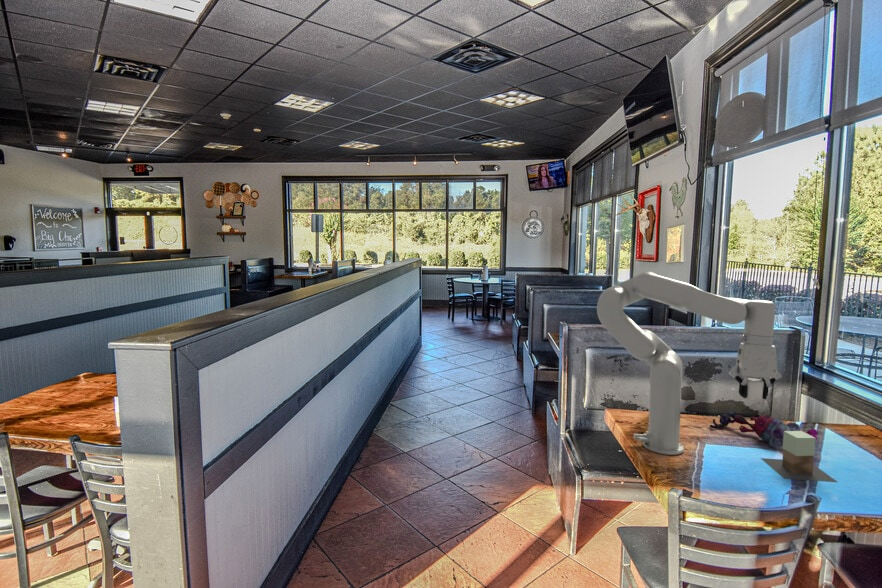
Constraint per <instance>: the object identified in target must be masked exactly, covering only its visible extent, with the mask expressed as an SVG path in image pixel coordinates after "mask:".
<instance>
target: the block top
mask: <svg viewBox="0 0 882 588" xmlns="http://www.w3.org/2000/svg"><path fill="white" fill-rule="evenodd" d="M816 441H817V440H816V438H815V437H813V436H811V435H809V434H807V433H805V431H802V430H801V431H784V436H783V449H785V450H787V451H788V452H790V453H792V454H794V455H795V456H814V457H815V452H816ZM783 449H782V450H783Z"/></svg>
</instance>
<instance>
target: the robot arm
mask: <svg viewBox="0 0 882 588" xmlns="http://www.w3.org/2000/svg"><path fill="white" fill-rule="evenodd" d="M644 299H647V300H651V301H655V302H658V303H662V304H664V305H668V306H671V307H675V308H678V309H680V310H682V311H686V312H689V313H693V314H695V315H698V316H702V317H704V318H708V319H711V320H714V321H717V322H721V323H724V324H728V325H737V324H740V323H742V322H744V328H743V333H742V335H739V336H738V340H740V341H742V342H740V344H739V347H738V350H737V355H736V361H735V365H734V366H733V367H731V369H730V370H729V371H728V374H729V375H730V376H732V377H733V379H734V380H736V382H737V383H738V385H739V386H738V394H739V396H740V397H742V398H743V399H744V398H747V388H748V386H747V385H746V382H747V380H748V378H755V379H759V378H760V380H762V381H764V387H763V398H762V400H767V399H768V395H769V388H770V387H771V386H772V384H774V383H775V382H776V381H778V380H779V379H780V378H782V377H783V376H782V374H781V373H780V372H779V370H778V357H777V355H778V354H777V348H776V346H775V345H774V344H773V342H774V331H775V330H774V328H775V318H776V317H775V316H776V304H775V302H773V301H772V300H771V301H770V300H767V299H766V300H765V299H744V298H738V297H725V296H721V295H718V294H716V293H715V294H714V293H711V292H709V291H705V290H702V289H700V288H698V287H697V286H696V285H695V286H694V285H692V284H690V283H688V282H684V281H680V280H676V279H673V278H669V277H667V276H666V277H665V276H663V275H658V274H657V273H654V272H652V271H643V272H641V273H639V274H637V275H635V276H633V277H632V278H629V279H626V280H624V281H622V282H619V283H617V284H615V285H613V286H610V287H608V288H606V289H604V290H603V291H602V292H601V294H600V295H599V297H598V301H597V304H596V305H597V306H596V315H597V317H598V320H599V321H600V323H601V325H602V326H603V327H604V328H605V330H606V331H608V333H609V334H610V335H611V336H612V337H613V338H615V340H616V341H617V342H618V343H619V344H620V345H621V346H622V347H623V348H624V349H625V350H626V351H627V352H628V353H629V354H630V355H631V356H632V357H633V358H635V359H636V360H639V361H644V362H645V363H646V364H648V365H649V367H650V369H649V408H648V409H649V410H648V412H649V413H648V430H645V433H644V432H643V434H641V433H633V439H634V440H639V441H638V442H640V443H642V444H643V447H644V448H645V449H647V450H648V451H651V452H653V453H656V454H660V455H667V456H674V455H675V456H676V455H681V454H682V453H684V452H685V447H684V445H683V444H682V443H680V432H681V431H680V428H681V427H680V426H681V408H682V407H681V405H682V400H681V399H682V383H683V362H682V359H681V358H680V356H679V355H678V354H677V353H676V352H675V351H674V350H673V349H672V348H671V347H669V345H668V344H666V342H664V341H663V340H662V339H661V337H659V336H658V335H657V334H655V333H654V332H653V331H651V330H649V329H645V328H641V327H640V326H639V325H638V324H637V323H636V322H635V321H634V320H633V319H631V317H629V316H628V315H627V314H626V313H625V311H624V308H625V307H627V306H629V305H632V304H634V303H636V302H639V301H642V300H644ZM737 373H738V374H739V375H738V374H737Z"/></svg>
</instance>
